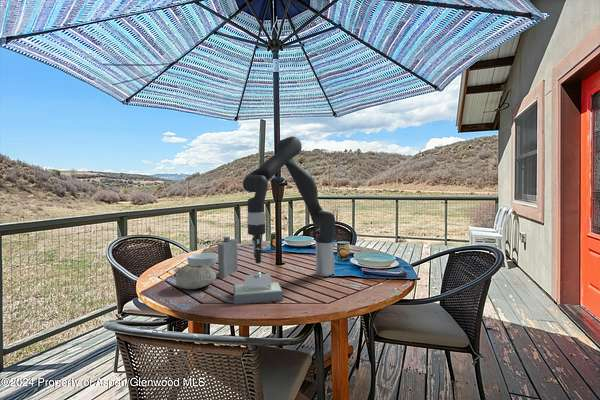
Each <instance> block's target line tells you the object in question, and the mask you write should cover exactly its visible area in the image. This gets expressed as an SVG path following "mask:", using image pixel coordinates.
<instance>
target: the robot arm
mask: <svg viewBox="0 0 600 400" xmlns="http://www.w3.org/2000/svg"><path fill="white" fill-rule="evenodd" d="M276 151H277V153H275V154H274V155H272V156H270V157H269V158H267V160H266V161H264V162H262V164H261V165H260V166H259V167H258V168H257V169H255V170H253V171H251V172H250V173H248V174H247V175H246V176H245V177H244V179H243V181H242V188H243V189H244V190H245V191H246V192H248V193H254V196H253V197H251V198H249V199H247V206H246V207H247V218H246V219H247V220H246V223H247V234H248V235H250V236H252V238H251V243H252V244H251V245H252V248H253V258H254V259H255V264H261V263H262V253H263V252H262V248H263V247H262V246H263V245H262V243H263V238H262V237H261V235H264V234H266V214H265V200H266V196H267V193H268V186H269V184H268V183H269V181H270V180H272V179H273V177H275V175H276V174H277V173H278V172H279V171H280V169H282V167H284V166H285V167H286V169H287V170H288V172H289V174H290V176H291V178H292V179H293V182H294V183H295V186H296V188H297V190H298V192H299V194H300V196H301V198H302V200H303V202H304V204H305V206H306V208H307V210H308V213H309V216H310V218H311V222H312V223H313V225H314V226H315V227H316V228H319V230H320V231H319V234H318V235H316V236H315V275H316V276H320V277H330V276H329V275H331V276H333V275H332V274H334V275H335V256H334V239H335V234H336V218H335V215H334V213H333V212H330V211H325V210H323V208H322V207H321V204H320V202H319V197H318V196H319V195H318V187H317V185H316V181H315V180H314V177H313V176H312V174H310V172H308V171H307V170H306V169H305V168H303V167H302V166H301V165H300V164H299V163H298V162H297V161H296V159H295V157H296V156H298V155H299V154H300V153H301V151H302V141H301V140H300V138H299V137H297V136H289V137H286V138H283V139H279V140H278V141H277V142H276Z"/></svg>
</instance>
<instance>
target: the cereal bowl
mask: <svg viewBox="0 0 600 400" xmlns="http://www.w3.org/2000/svg"><path fill="white" fill-rule="evenodd" d="M217 262H218V253H215V252H199V253H194V254H189V255H188V256H187V263H188V266H190V265H195V266H196V265H205V266H208V267H211V268H212V267H213V266H215V265H216V264H217Z"/></svg>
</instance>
